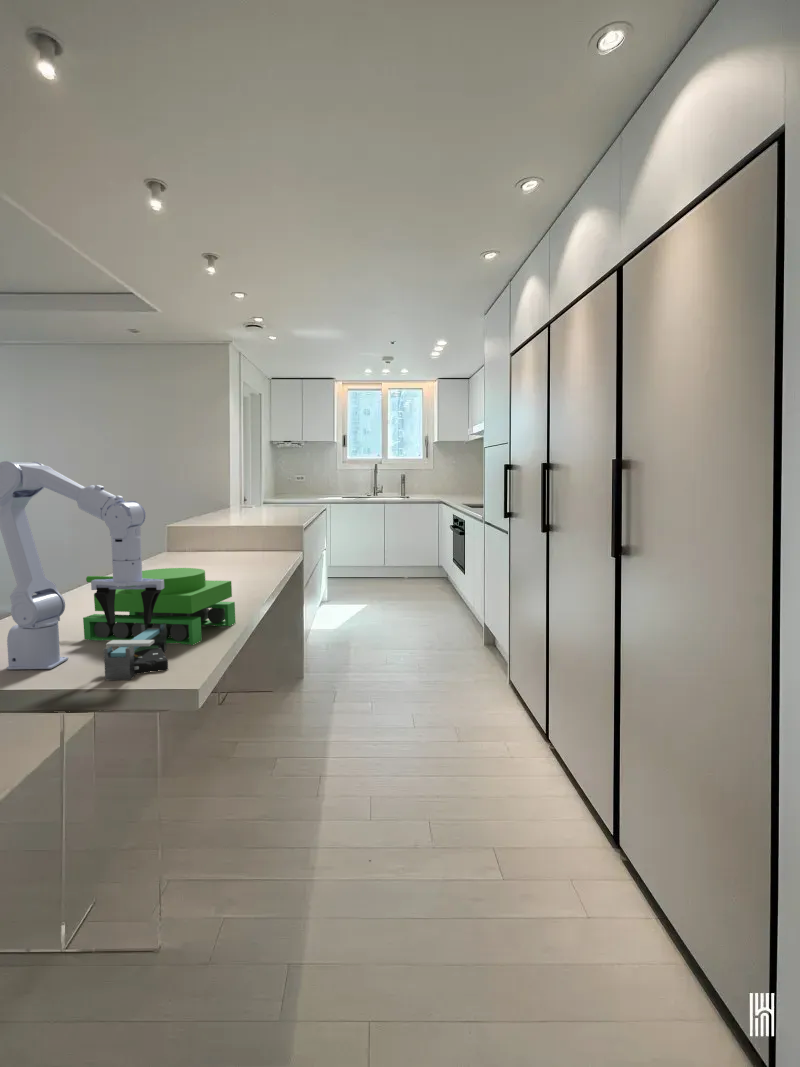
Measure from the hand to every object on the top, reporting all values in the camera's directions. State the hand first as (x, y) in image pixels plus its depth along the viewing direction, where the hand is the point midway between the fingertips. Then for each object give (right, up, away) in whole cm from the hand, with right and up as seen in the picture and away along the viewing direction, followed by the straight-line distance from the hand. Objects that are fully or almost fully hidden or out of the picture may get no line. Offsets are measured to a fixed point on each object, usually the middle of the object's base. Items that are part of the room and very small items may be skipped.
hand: (129, 623), depth 140 cm
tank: (-8, -7, +36) cm, 37 cm away
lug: (0, -11, -5) cm, 12 cm away
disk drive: (0, -10, +5) cm, 11 cm away
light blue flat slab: (0, -5, +4) cm, 7 cm away
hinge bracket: (0, -9, +15) cm, 17 cm away
